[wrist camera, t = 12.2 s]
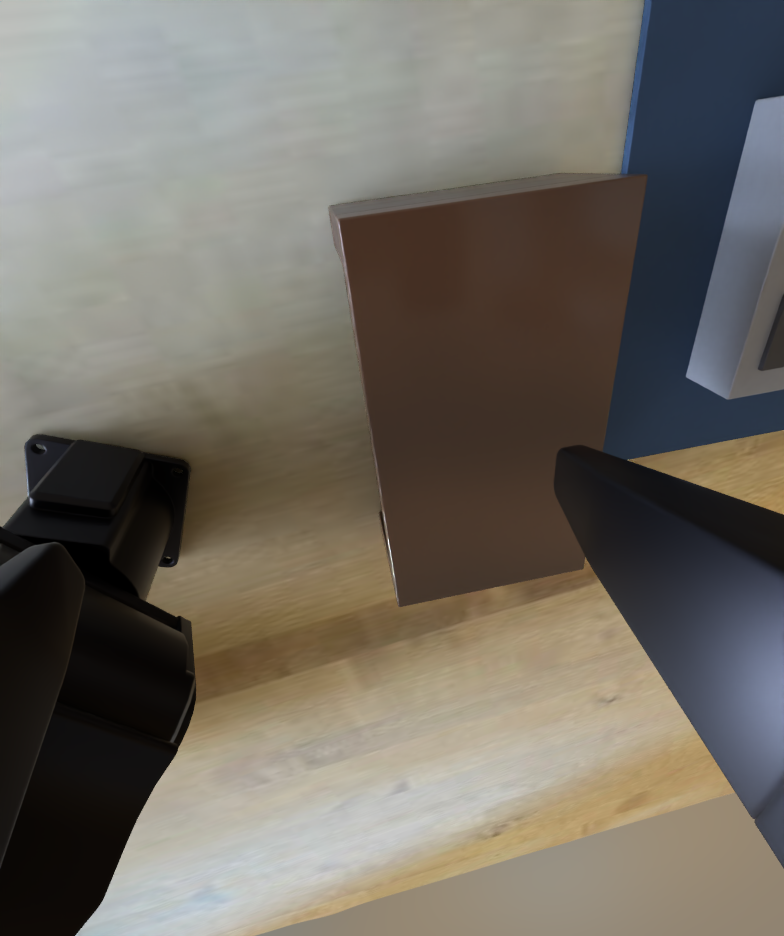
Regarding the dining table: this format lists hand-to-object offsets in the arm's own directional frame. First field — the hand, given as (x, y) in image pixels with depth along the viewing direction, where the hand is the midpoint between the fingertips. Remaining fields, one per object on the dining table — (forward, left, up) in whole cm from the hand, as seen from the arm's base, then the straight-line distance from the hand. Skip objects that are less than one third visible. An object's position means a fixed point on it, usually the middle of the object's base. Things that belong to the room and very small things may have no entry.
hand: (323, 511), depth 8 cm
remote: (+8, -18, -13) cm, 24 cm away
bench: (-1, -7, -13) cm, 15 cm away
